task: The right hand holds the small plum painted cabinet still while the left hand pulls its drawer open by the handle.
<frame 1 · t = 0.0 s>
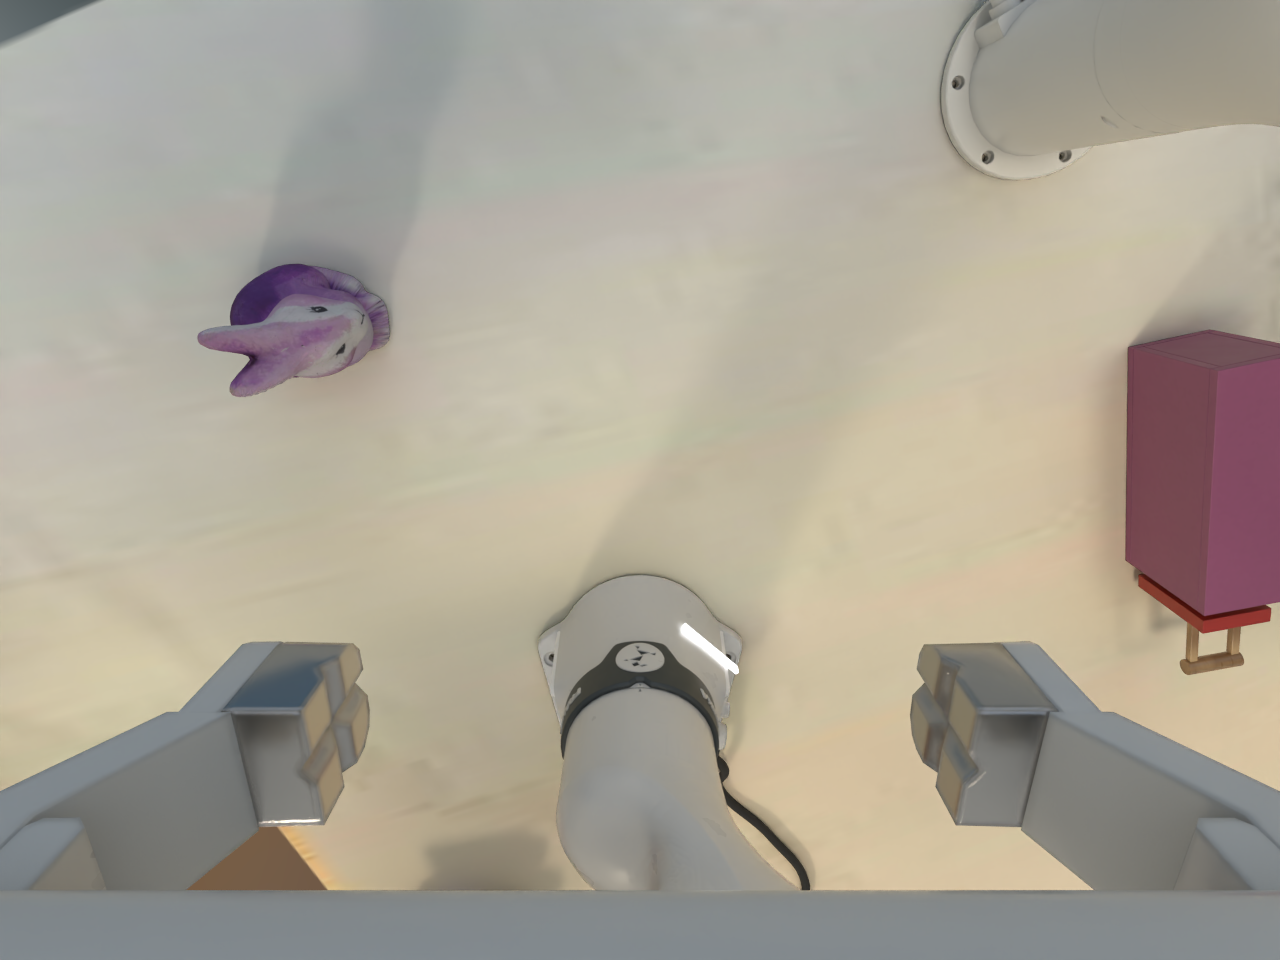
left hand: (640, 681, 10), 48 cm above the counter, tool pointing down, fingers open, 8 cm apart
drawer: (1203, 534, 57), point 5 cm above the counter, slide at 1.1 cm
figurine: (333, 313, 56), on the counter
cabinet: (1165, 451, 60), on the counter
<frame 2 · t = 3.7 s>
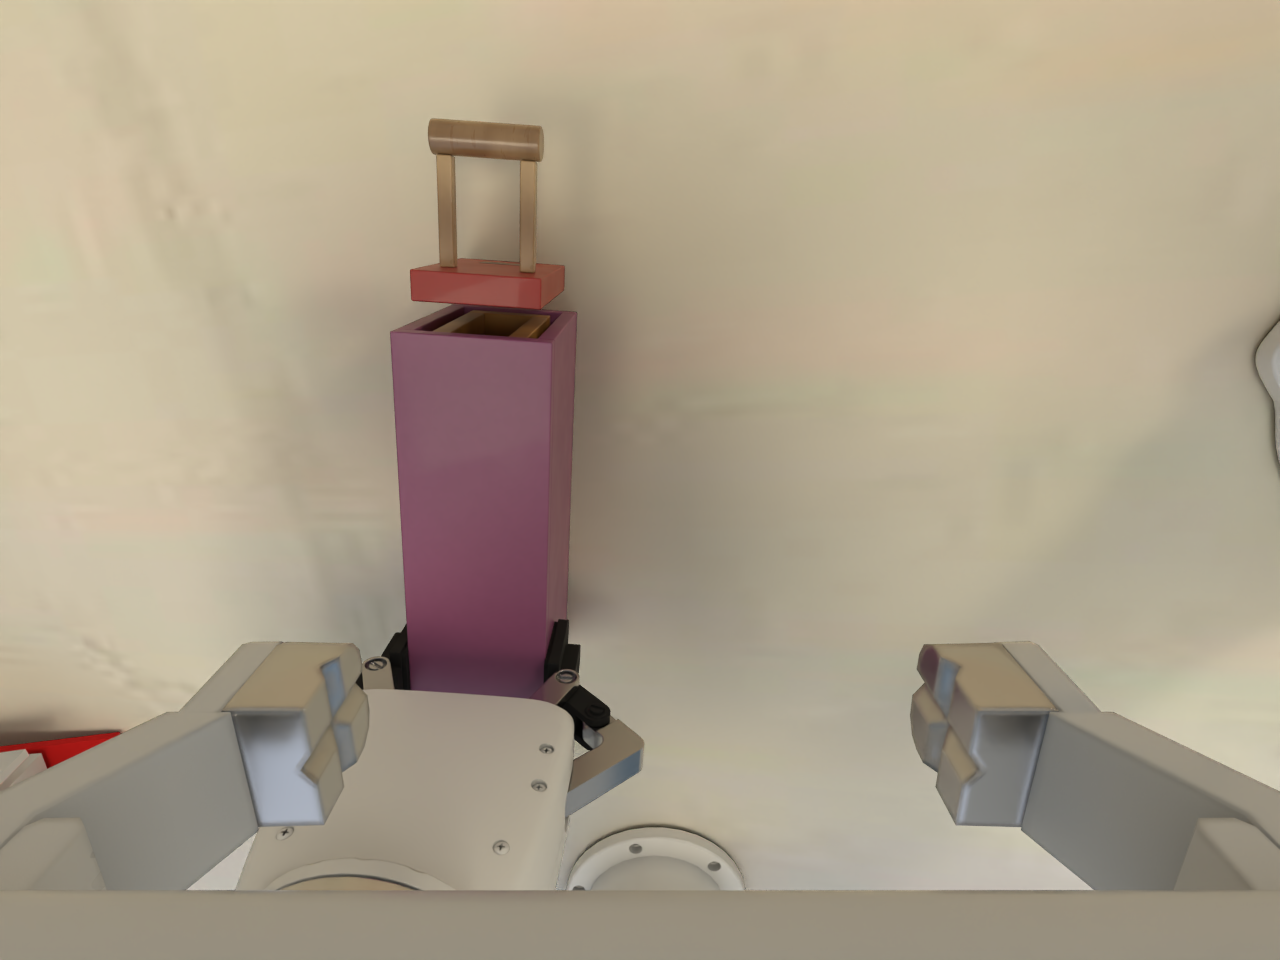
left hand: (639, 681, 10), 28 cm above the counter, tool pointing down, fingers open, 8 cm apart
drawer: (496, 409, 33), point 5 cm above the counter, slide at 1.1 cm
cabinet: (514, 484, 40), on the counter, touching right hand
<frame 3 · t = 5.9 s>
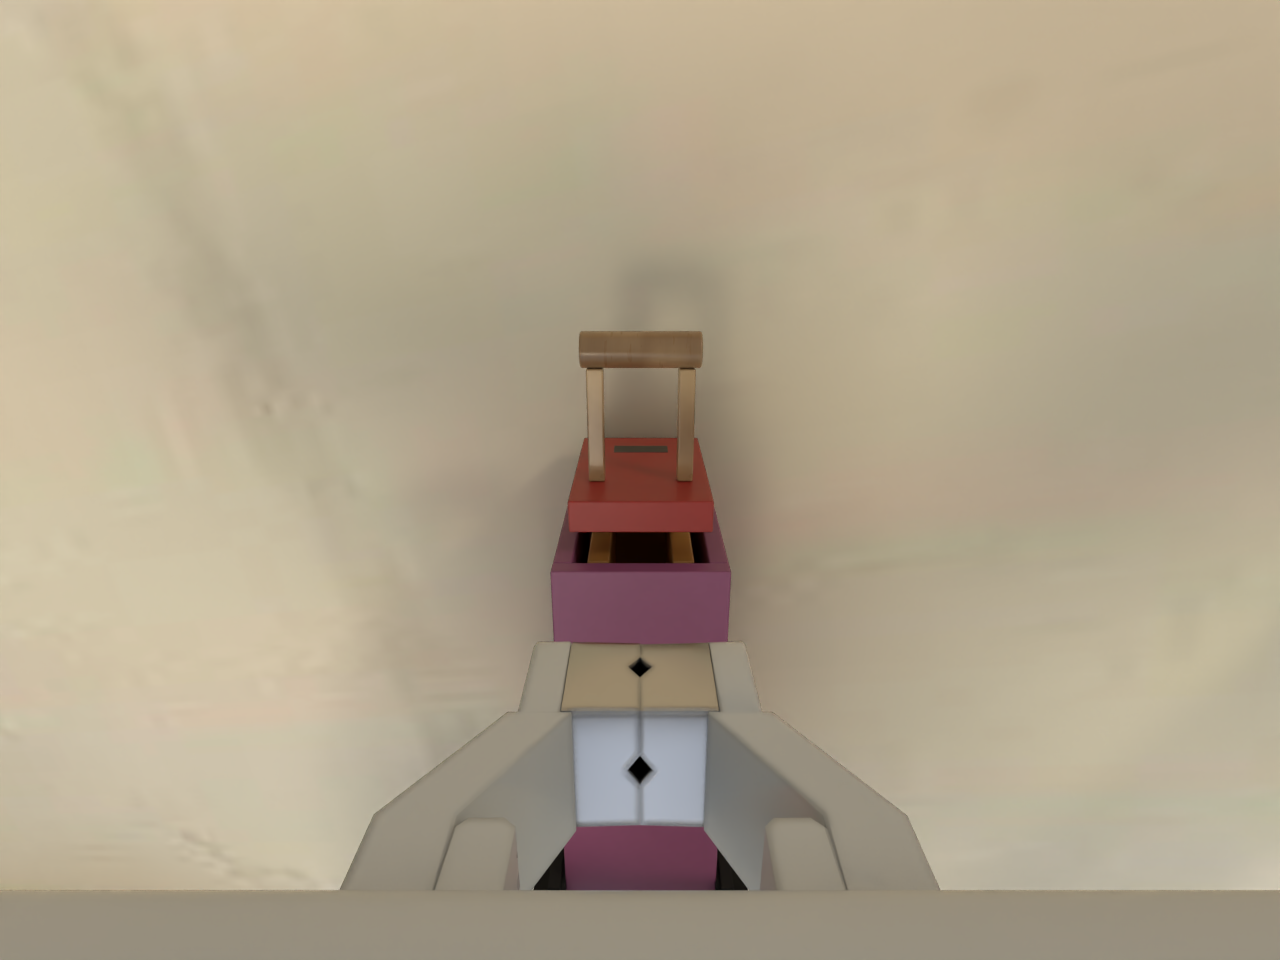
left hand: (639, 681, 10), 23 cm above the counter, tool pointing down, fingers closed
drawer: (640, 606, 31), point 5 cm above the counter, slide at 1.1 cm
cabinet: (640, 654, 37), on the counter, touching right hand
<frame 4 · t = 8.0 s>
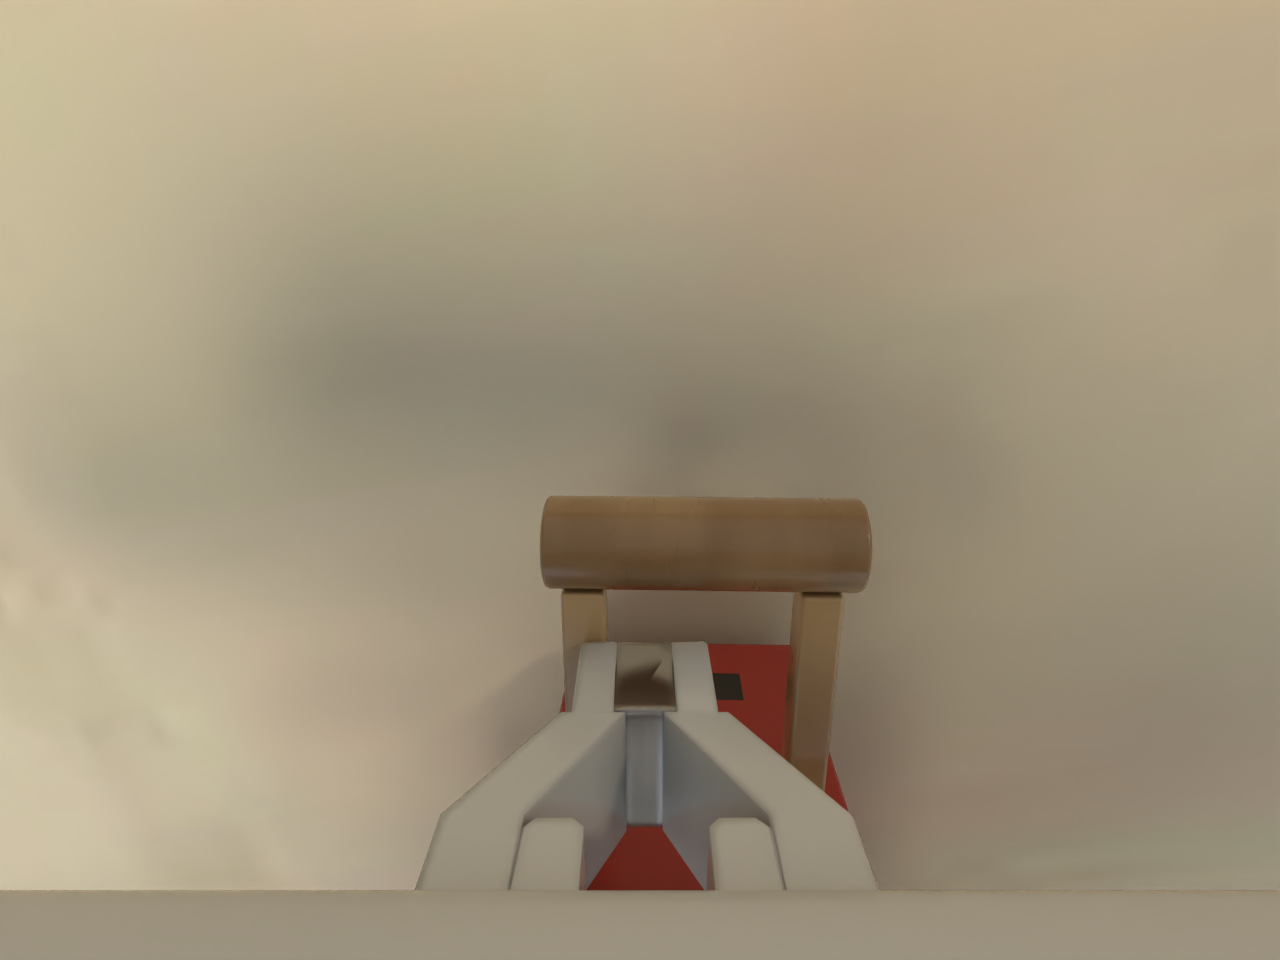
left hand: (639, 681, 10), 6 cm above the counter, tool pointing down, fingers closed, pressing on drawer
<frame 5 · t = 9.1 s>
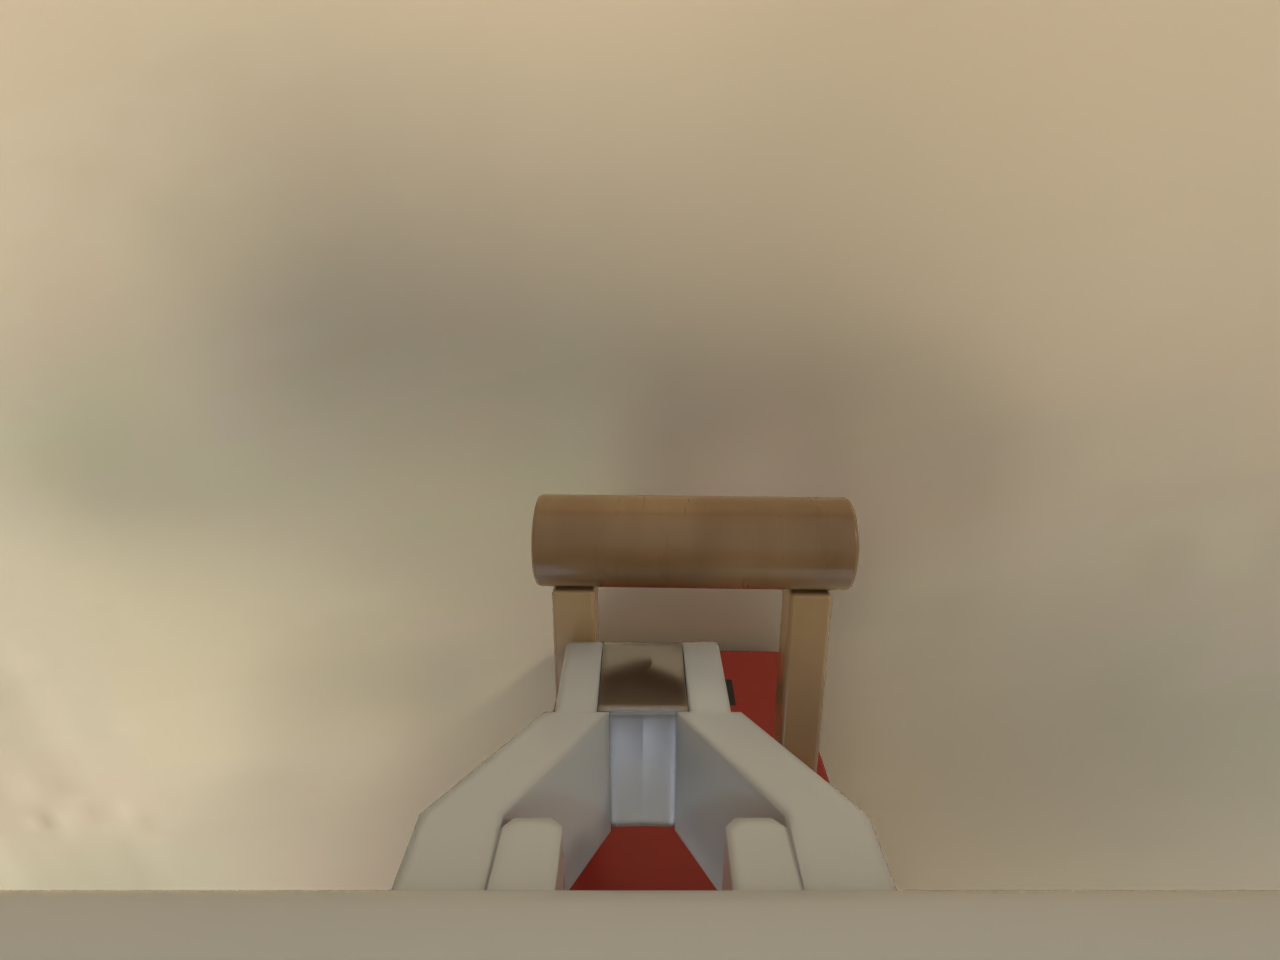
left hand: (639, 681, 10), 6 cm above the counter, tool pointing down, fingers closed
when the right hand's fingers open (6 cm above the counter, at t = 10.6 s): cabinet stays where it is, on the counter.
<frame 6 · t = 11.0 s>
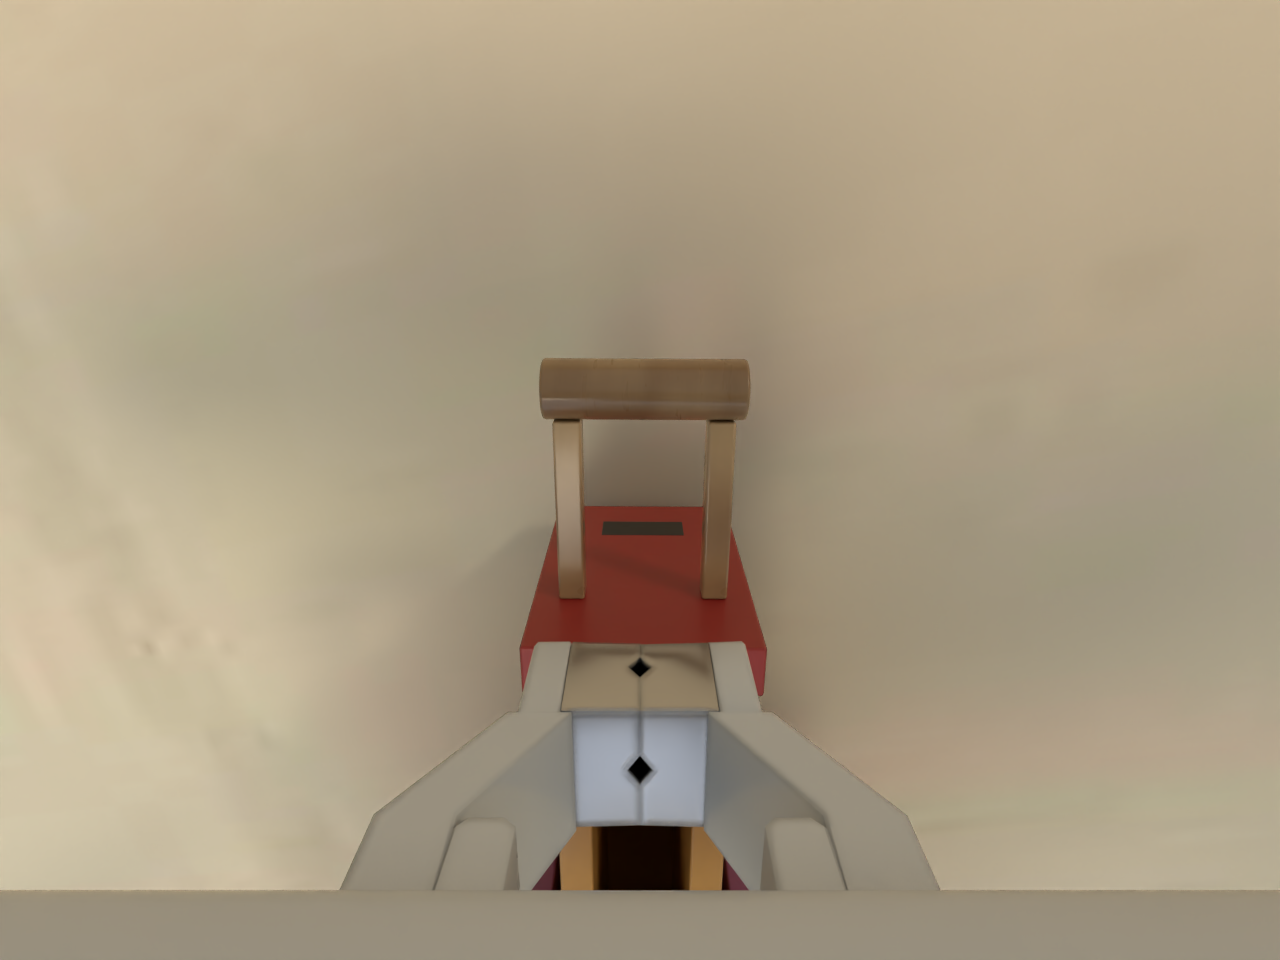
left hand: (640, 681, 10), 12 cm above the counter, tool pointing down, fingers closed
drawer: (641, 763, 20), point 5 cm above the counter, slide at 8.0 cm
cabinet: (639, 923, 29), on the counter
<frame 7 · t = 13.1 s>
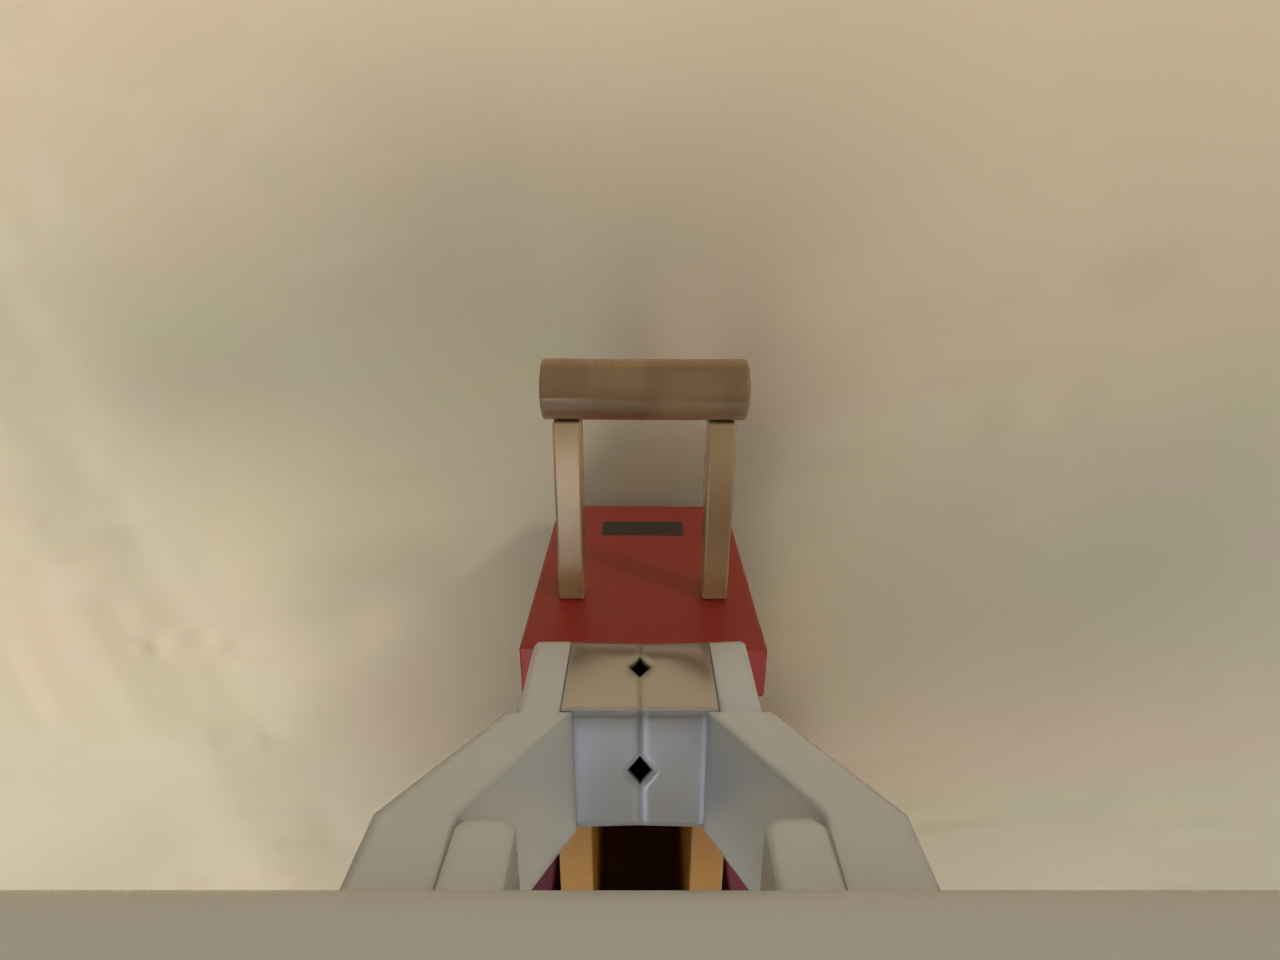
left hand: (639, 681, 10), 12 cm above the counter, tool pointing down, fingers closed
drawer: (641, 763, 20), point 5 cm above the counter, slide at 8.0 cm
cabinet: (639, 923, 29), on the counter
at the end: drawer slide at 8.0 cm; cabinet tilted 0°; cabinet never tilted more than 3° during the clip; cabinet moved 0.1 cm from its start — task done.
